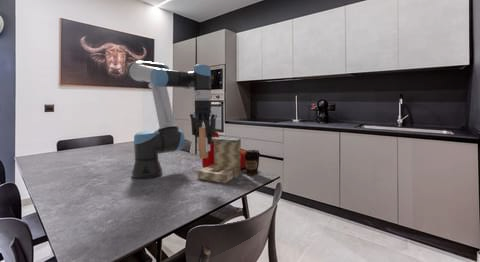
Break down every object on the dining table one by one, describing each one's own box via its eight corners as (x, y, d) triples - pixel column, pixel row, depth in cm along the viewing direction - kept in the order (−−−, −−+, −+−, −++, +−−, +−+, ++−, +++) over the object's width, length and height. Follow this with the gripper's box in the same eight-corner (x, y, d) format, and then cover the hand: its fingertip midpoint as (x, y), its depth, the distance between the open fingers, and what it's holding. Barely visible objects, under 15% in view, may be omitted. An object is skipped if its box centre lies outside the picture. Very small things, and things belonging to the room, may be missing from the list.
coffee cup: (258, 177, 122) (259, 152, 120) (243, 176, 124) (243, 152, 122) (260, 172, 130) (260, 149, 129) (245, 171, 132) (246, 148, 131)
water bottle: (208, 163, 151) (208, 124, 148) (221, 165, 144) (221, 125, 141) (198, 166, 143) (197, 125, 140) (211, 169, 137) (210, 126, 134)
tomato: (224, 169, 136) (224, 151, 135) (233, 164, 149) (233, 147, 148) (246, 171, 132) (247, 153, 131) (253, 166, 144) (253, 149, 143)
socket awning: (197, 178, 120) (197, 141, 118) (215, 170, 135) (215, 137, 133) (224, 183, 113) (224, 143, 111) (240, 173, 128) (240, 139, 126)
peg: (197, 157, 108) (197, 127, 107) (202, 156, 112) (202, 126, 110) (204, 158, 106) (204, 127, 105) (209, 156, 110) (209, 127, 108)
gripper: (182, 100, 107) (184, 150, 109) (214, 99, 99) (215, 153, 102) (192, 100, 113) (194, 148, 116) (223, 100, 106) (223, 150, 108)
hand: (203, 150), depth 109 cm, fingers closed on peg, 4 cm apart
